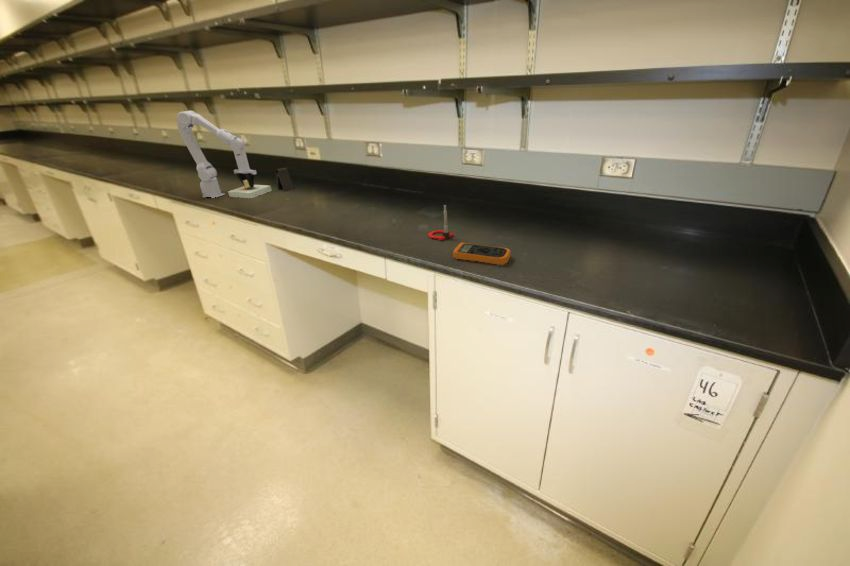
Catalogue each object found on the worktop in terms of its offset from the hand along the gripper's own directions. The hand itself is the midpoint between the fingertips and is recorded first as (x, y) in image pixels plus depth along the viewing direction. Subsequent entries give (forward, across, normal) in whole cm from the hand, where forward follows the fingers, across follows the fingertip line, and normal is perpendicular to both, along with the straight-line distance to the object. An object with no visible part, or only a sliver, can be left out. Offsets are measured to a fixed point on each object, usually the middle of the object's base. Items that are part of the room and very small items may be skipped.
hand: (249, 186), depth 208 cm
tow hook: (+4, +126, -32) cm, 130 cm away
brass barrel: (+2, 0, 0) cm, 2 cm away
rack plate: (+4, 0, 0) cm, 4 cm away
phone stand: (+4, +14, +13) cm, 20 cm away
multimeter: (+5, +146, -47) cm, 153 cm away
